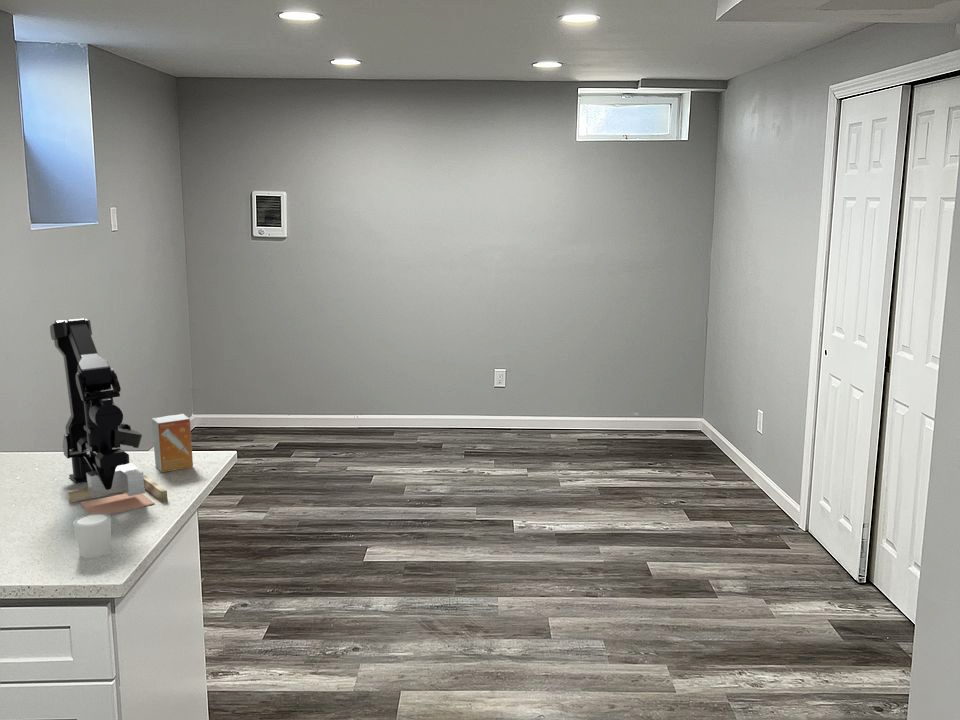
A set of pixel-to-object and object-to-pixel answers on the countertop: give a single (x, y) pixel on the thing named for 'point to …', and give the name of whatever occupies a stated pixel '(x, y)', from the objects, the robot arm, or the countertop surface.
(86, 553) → the shot glass
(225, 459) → the countertop surface
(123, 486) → the bracket
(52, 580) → the countertop surface
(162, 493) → the tan corner rail
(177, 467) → the small box
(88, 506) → the pad
